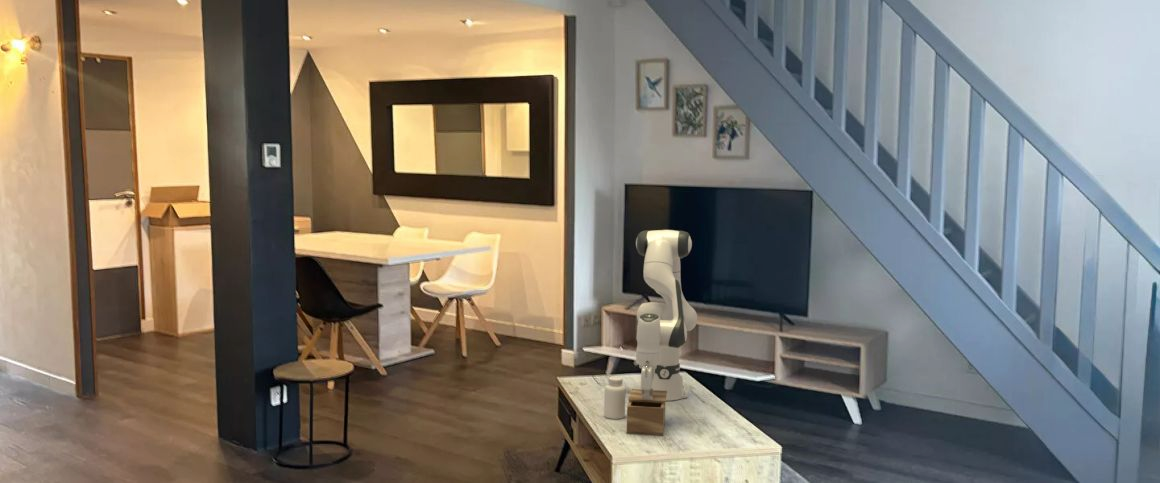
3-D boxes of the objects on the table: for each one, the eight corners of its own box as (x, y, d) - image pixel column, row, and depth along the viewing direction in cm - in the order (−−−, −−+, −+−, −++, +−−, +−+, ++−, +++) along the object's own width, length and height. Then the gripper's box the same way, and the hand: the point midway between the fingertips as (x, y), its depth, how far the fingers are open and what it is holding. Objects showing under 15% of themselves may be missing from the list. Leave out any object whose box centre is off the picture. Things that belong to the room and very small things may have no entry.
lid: (631, 390, 348) (631, 379, 347) (666, 392, 346) (667, 381, 345) (628, 401, 334) (628, 389, 333) (665, 403, 332) (665, 391, 331)
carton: (630, 422, 342) (630, 396, 341) (664, 424, 340) (665, 397, 339) (626, 433, 328) (627, 406, 327) (662, 435, 326) (663, 408, 325)
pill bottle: (623, 420, 344) (624, 381, 342) (602, 418, 346) (603, 380, 344) (626, 414, 352) (627, 376, 350) (605, 412, 353) (606, 374, 352)
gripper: (655, 365, 323) (654, 403, 324) (658, 352, 343) (657, 388, 344) (637, 364, 323) (636, 402, 325) (641, 352, 344) (640, 387, 345)
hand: (647, 395), depth 335 cm, fingers closed on lid, 2 cm apart
